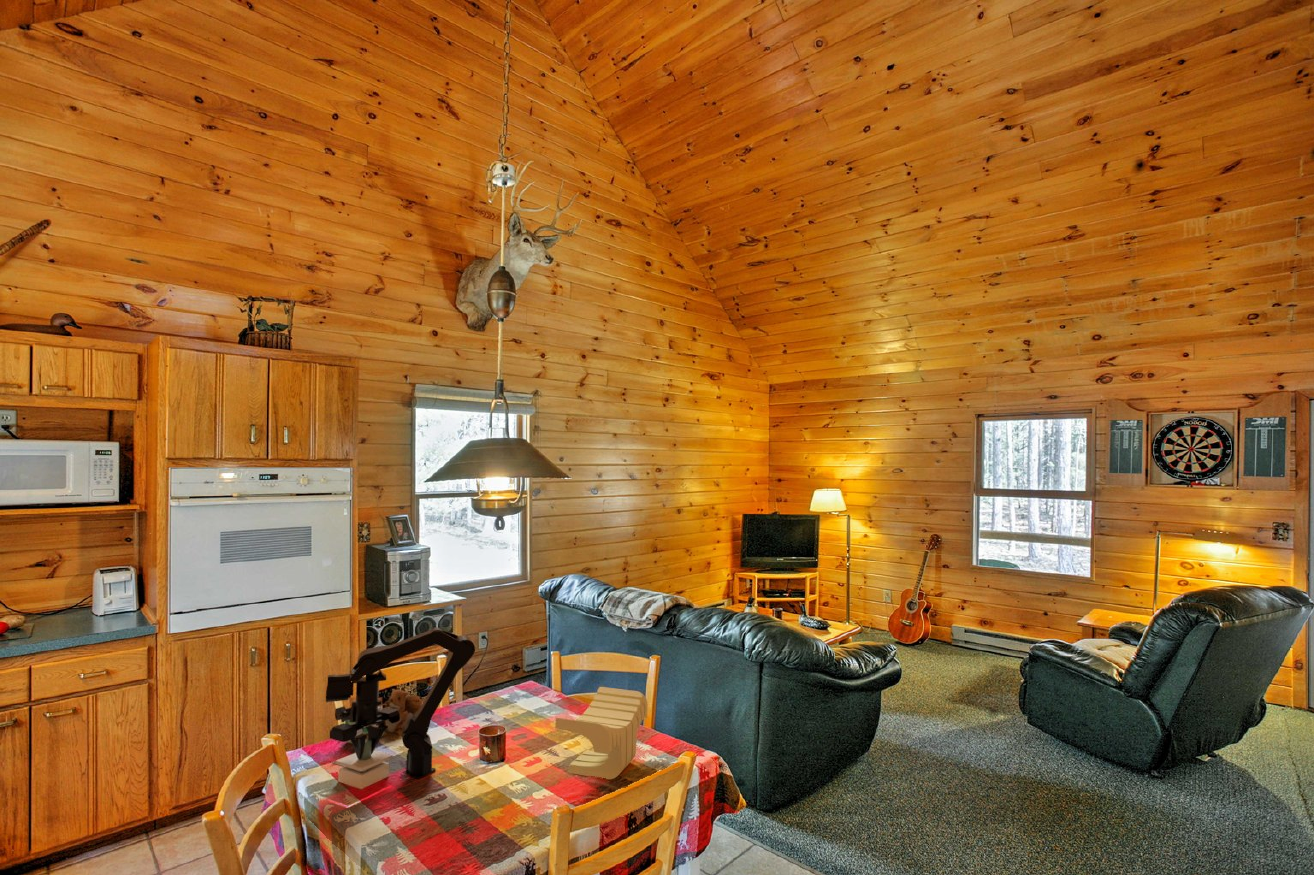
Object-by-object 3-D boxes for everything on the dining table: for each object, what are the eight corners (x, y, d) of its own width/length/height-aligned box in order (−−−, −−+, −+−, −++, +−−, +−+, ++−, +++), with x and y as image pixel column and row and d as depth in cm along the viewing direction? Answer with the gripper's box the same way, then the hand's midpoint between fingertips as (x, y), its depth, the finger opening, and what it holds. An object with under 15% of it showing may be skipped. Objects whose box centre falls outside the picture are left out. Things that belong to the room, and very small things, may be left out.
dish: (388, 778, 187) (389, 763, 187) (361, 791, 179) (361, 775, 179) (366, 771, 191) (366, 756, 192) (338, 783, 183) (338, 768, 184)
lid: (392, 757, 188) (393, 738, 188) (361, 771, 179) (362, 751, 179) (367, 750, 192) (367, 731, 193) (336, 763, 183) (336, 743, 184)
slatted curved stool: (608, 794, 179) (609, 725, 180) (554, 785, 184) (555, 717, 186) (646, 752, 208) (647, 692, 209) (598, 744, 213) (599, 686, 214)
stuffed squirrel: (371, 734, 219) (373, 692, 220) (402, 720, 232) (403, 680, 233) (397, 738, 215) (398, 696, 216) (426, 724, 229) (428, 683, 230)
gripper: (374, 684, 199) (372, 739, 198) (317, 702, 182) (314, 762, 181) (402, 690, 193) (400, 746, 192) (345, 709, 177) (342, 771, 176)
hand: (364, 756), depth 186 cm, fingers closed on lid, 3 cm apart
